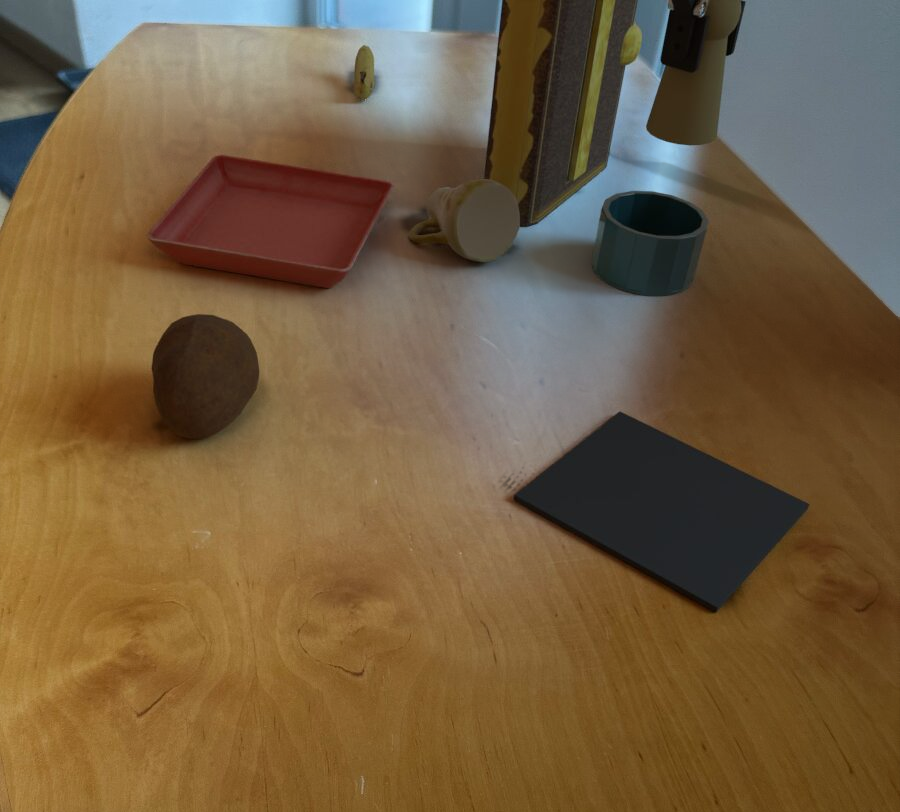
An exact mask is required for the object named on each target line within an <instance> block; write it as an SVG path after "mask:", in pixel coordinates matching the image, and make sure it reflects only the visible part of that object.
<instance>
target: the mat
mask: <svg viewBox="0 0 900 812" xmlns="http://www.w3.org/2000/svg"><path fill="white" fill-rule="evenodd" d="M513 501H514V502H516V503H517V504H519V505H522V507H525V508H527V509H528V510H530V511H532V512H534V513H536V514H538V515H539V516H541V517H543V518H545V519H547V520H548V521H550V522H552V523H553V524H556V525H557V526H559V527H561V528H563V529H564V530H566V531H567V532H570V533H572V534H573V535H575V536H577V537H579V538H580V539H582V540H584V541H586V542H587V543H590V544H591V545H593V546H594V547H596V548H599V549H600V550H602V551H603V552H606V553H607V554H609V555H611V556H612V557H614V558H617V560H620V561H622V562H624V563H625V564H627V565H629V566H630V567H633V568H635V569H636V570H638V571H639V572H641V573H643V574H645V575H647V576H649V577H650V578H652V579H654V580H655V581H657V582H660V583H661V584H663V585H665V586H667V587H669V588H670V589H672V590H674V591H676V592H677V593H679V594H681V595H683V596H685V597H687V598H688V599H689V600H691V601H693V602H695V603H697V604H698V605H701V606H702V607H704V608H705V609H708V610H710V611H711V612H713V613H717V612H718V611H720V609H721V608H722V607H723V606H724V604H725V603H726V602H727V601H728V600H729V599H730V597H732V596H733V594H734V593H735V592H736V591H737V589H738V588H739V587H741V585H742V584H743V583H744V582H745V581H746V579H747V578H749V576H750V575H751V574H752V573H753V572H754V570H755V569H756V568H757V567H758V566H759V565H760V564H761V563H762V561H764V559H765V558H766V557H767V556H768V555H769V554H770V552H771V551H772V550H773V549H774V548H775V547H776V546H777V545H778V543H779V542H780V541H781V540H782V539H783V537H784V536H786V534H787V533H788V532H789V531H790V530H791V529H792V528H793V526H794V525H795V524H796V523H797V522H798V521H799V520H800V518H801V517H802V516H804V514H805V513H806V511H808V510H809V507H810V503H808V502H806V501H804V500H802V499H800V498H798V497H796V496H794V495H792V494H790V493H788V492H786V491H784V490H782V489H780V488H778V487H775V486H773V485H771V484H769V483H768V482H765V481H764V480H761V479H759V478H757V477H755V476H753V475H751V474H749V473H747V472H746V471H743V470H741V469H739V468H737V467H735V466H733V465H731V464H729V463H727V462H725V461H723V460H721V459H719V458H717V457H714V456H712V455H710V454H708V453H706V452H705V451H702V450H700V449H699V448H696V447H693V446H692V445H690V444H688V443H686V442H683V441H682V440H680V439H678V438H676V437H674V436H671V435H669V434H668V433H665V432H664V431H662V430H660V429H658V428H655V427H653V426H652V425H649V424H647V423H645V422H643V421H641V420H639V419H637V418H634V417H632V416H631V415H629V414H627V413H624V412H622V411H618V412H617V413H616V414H614V415H613V416H612V417H611V418H609V419H608V420H607V421H605V422H604V423H602V424H601V426H599V427H598V428H596V429H595V430H594V431H593V432H592V433H590V434H589V435H587V437H585V438H584V439H583V440H581V441H580V442H579V443H578V444H577V445H575V446H574V447H573V448H571V449H570V450H569V451H568V452H566V453H565V454H564V455H562V456H561V457H560V458H558V459H557V460H556V461H555V462H554V463H552V464H550V466H548V468H546V469H545V470H544V471H542V472H541V473H540V474H538V476H536V477H535V478H534V479H532V480H531V481H530V482H529V483H527V484H526V485H525V486H523V487H522V488H521V489H520V490H518V491H517V492H516V493H515V494H514V495H513Z"/></svg>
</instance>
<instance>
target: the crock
mask: <svg viewBox="0 0 900 812" xmlns="http://www.w3.org/2000/svg"><path fill="white" fill-rule="evenodd" d="M709 221H710V220H709V218H708V217H707V215H706V213H705V212H704V210H702V209H701V208H700V207H698V206H696V205H695V204H694V203H692V202H691V201H689V200H686V199H683V198H681V197H678V196H676V195H673V194H667V193H663V192H657V191H653V190H630V191H629V190H628V191H623V192H618V193H614V194H613V195H610V196H609V197H607V198H606V199H605V200H604V201H603V204H602V207H601V209H600V215H599V221H598V226H597V231H596V232H597V233H596V236H595V242H594V246H593V252H592V258H591V266H592V270H593V271H594V274H596V276H597V277H598V278H600V279H601V280H602V281H603V282H604V283H606V284H608V285H610V286H612V287H614V288H616V289H618V290H621V291H623V292H626V293H631V294H635V295H639V296H647V297H649V296H650V297H664V296H671V295H676V294H679V293H681V292H684V291H685V290H687V289H688V288H690V287H691V285H692V284H693V282H694V279H695V276H696V275H695V274H696V271H697V269H698V268H697V267H698V263H699V260H700V256H701V252H702V249H703V244H704V241H705V238H706V234H707V230H708V226H709V223H710V222H709Z"/></svg>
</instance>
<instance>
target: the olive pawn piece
mask: <svg viewBox="0 0 900 812" xmlns="http://www.w3.org/2000/svg"><path fill="white" fill-rule="evenodd" d="M740 14H741V0H709V3H708V6H707V9H706V12H705V14H704V15H706V16H710V18H709V23H708V27H707V32H706V36H705V41H704V46H703V50H702V55H701V60H700V64H699V68H698V70H697V71H695V72H693V73H689V72H686V71H683V70H680V69H676V68H673V67H670V66H666V65H664V69H663V72H662V75H661V78H660V81H659V84H658V87H657V90H656V93H655V96H654V100H653V102H652V105H651V109H650V112H649V116H648V118H647V121H646V124H645V127H646V131H647V132H648V133H649V135H651V136H653V137H654V138H656V139H658V140H660V141H663V142H665V143H669V144H670V143H671V144H675V145H679V146H680V145H681V146H702V145H708V144H710V143H713V142H715V140H716V139H717V137H718V130H719V121H720V113H721V102H722V95H723V94H722V93H723V85H724V76H725V67H726V58H727V56H726V50H727V40H728V35H729V34H730V33H731V32H732V31H733V30H734V29H735V27H736V25H737V23H738V21H739V18H740Z"/></svg>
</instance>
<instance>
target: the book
mask: <svg viewBox="0 0 900 812" xmlns="http://www.w3.org/2000/svg"><path fill="white" fill-rule="evenodd" d="M638 1H639V0H501V9H500V17H499V18H500V20H499V28H498V38H497V48H496V56H495V57H496V58H495V67H494V68H495V69H494V77H493V87H492V96H491V105H490V115H489V124H488V125H489V127H488V135H487V144H486V145H487V146H486V154H485V155H486V156H485V163H484V173H483V179H489V180H493V181H496V182H498V183H500V184H502V185H504V186H505V187H507V188H508V189H509V190H510V191H511V192H512V194H513V195H514V197H515V198H516V201H517V204H518V207H519V213H520V227H526V228H527V227H531V226H534V225H538V224H539V223H540V222H542V221H543V220H544V219H545V218H547V217H548V216H549V215H550V214H552V212H554V211H555V210H556V209H558V208H559V207H560V206H562V204H564V203H565V202H566V201H568V200H569V199H570V198H571V197H572V196H574V195H575V194H576V193H578V192H579V191H580V190H581V189H583V188H584V187H585V186H586V185H587V184H589V183H590V182H591V181H592V180H593V179H595V178H596V177H597V176H598V175H600V174H601V173H602V172H604V171H605V170H606V169H607V168H606V167H608V162H609V157H610V152H611V146H612V142H613V141H612V140H613V135H614V130H615V125H616V119H617V114H618V108H619V103H620V97H621V94H622V93H621V92H622V89H623V88H622V87H623V83H624V82H623V81H624V77H625V71H626V67H627V66H628V65H631V64H632V63H634V62H635V61H636V60H637V57H638V55H639V53H640V52H641V47H642V41H643V35H642V34H643V33H642V29H641V28H640V27H639V25H637V23H636V22H635V17H636V12H637V7H638ZM605 168H606V169H605ZM604 169H605V170H604ZM600 172H601V173H600ZM599 173H600V174H599ZM588 182H589V183H588ZM583 186H584V187H583Z"/></svg>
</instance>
